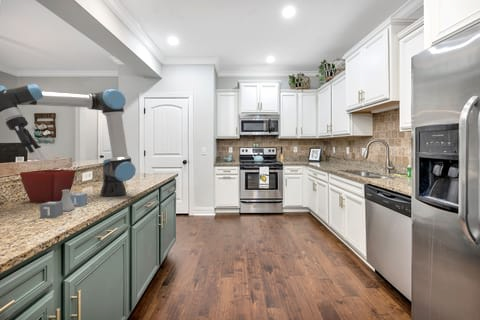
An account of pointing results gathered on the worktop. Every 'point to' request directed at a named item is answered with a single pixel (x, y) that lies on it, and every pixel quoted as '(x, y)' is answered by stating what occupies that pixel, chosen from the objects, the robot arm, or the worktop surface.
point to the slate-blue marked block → (79, 199)
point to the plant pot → (47, 184)
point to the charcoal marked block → (51, 209)
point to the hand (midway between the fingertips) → (40, 159)
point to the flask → (67, 201)
